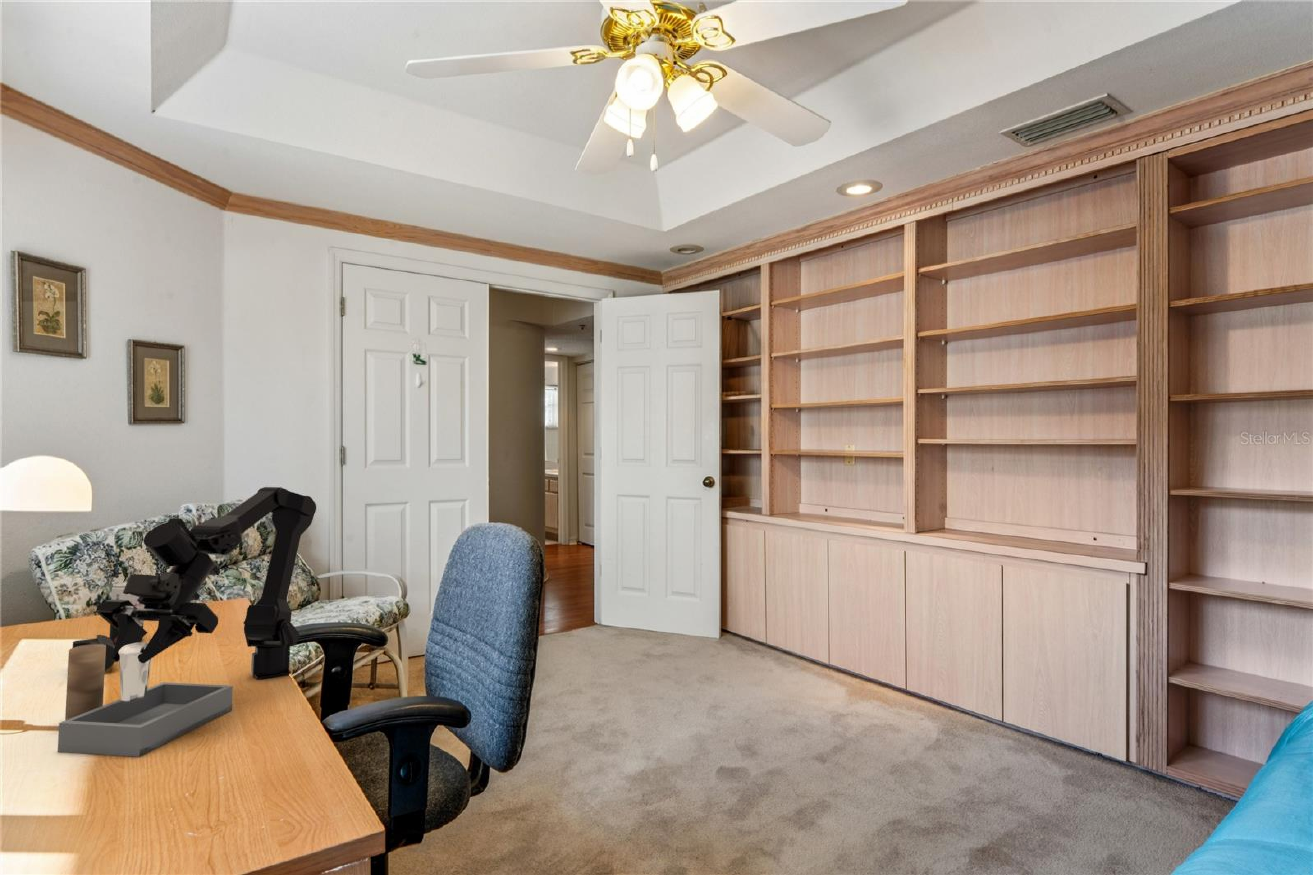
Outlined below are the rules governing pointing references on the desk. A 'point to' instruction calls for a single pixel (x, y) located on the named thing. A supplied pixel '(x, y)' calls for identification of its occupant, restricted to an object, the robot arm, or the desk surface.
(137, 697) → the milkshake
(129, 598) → the beverage can
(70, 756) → the desk surface
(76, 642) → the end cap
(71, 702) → the walnut cylinder
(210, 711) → the tray
